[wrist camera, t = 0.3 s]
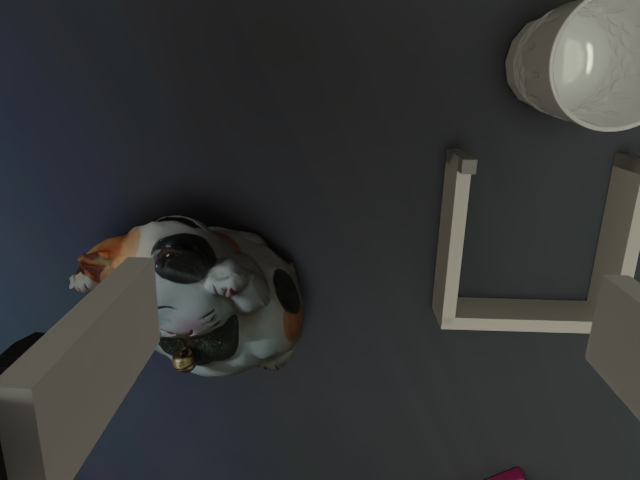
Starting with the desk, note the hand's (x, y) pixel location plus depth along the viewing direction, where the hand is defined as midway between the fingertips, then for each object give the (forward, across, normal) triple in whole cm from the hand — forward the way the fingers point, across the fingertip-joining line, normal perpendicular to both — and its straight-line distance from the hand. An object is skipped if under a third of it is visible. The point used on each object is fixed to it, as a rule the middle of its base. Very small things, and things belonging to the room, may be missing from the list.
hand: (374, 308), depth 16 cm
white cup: (+27, +15, +8) cm, 32 cm away
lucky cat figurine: (+27, -11, -11) cm, 31 cm away
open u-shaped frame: (+27, +15, -5) cm, 31 cm away
